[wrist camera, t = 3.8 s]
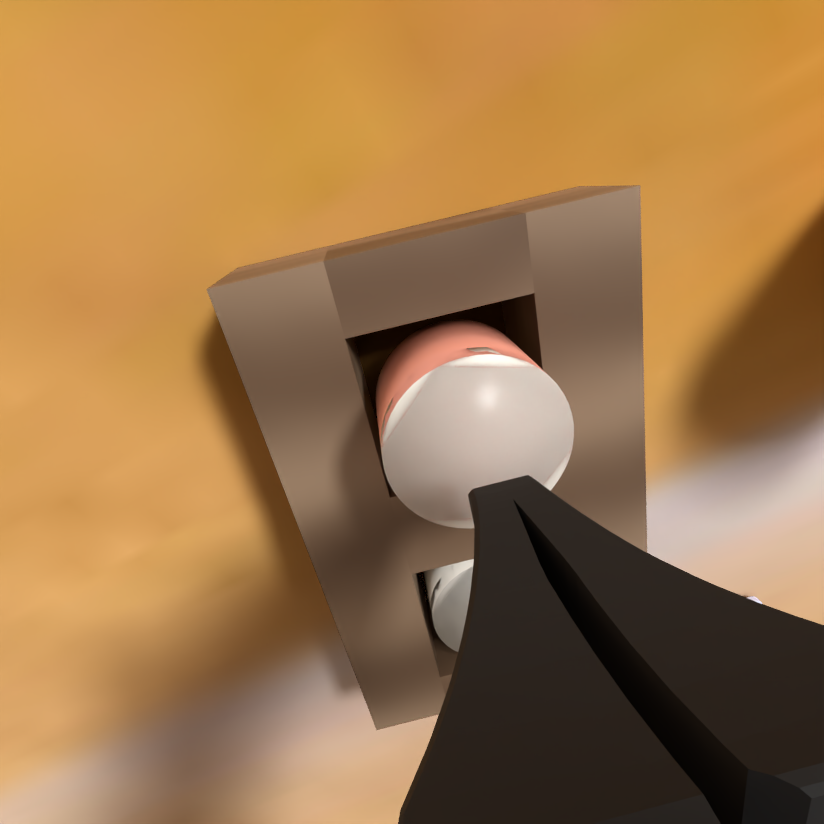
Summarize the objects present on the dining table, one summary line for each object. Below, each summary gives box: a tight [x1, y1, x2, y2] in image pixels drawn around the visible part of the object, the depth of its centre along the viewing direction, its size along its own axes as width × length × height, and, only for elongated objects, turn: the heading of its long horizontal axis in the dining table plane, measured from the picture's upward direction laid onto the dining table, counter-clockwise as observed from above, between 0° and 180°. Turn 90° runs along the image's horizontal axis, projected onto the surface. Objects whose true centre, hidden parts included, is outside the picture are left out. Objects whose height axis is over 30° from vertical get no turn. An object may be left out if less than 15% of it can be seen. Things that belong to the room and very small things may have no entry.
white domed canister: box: [424, 559, 474, 652], centre depth 21 cm, size 5×5×4 cm
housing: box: [207, 186, 647, 730], centre depth 19 cm, size 19×12×4 cm, turn 12°
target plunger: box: [375, 319, 574, 528], centre depth 14 cm, size 5×5×4 cm
